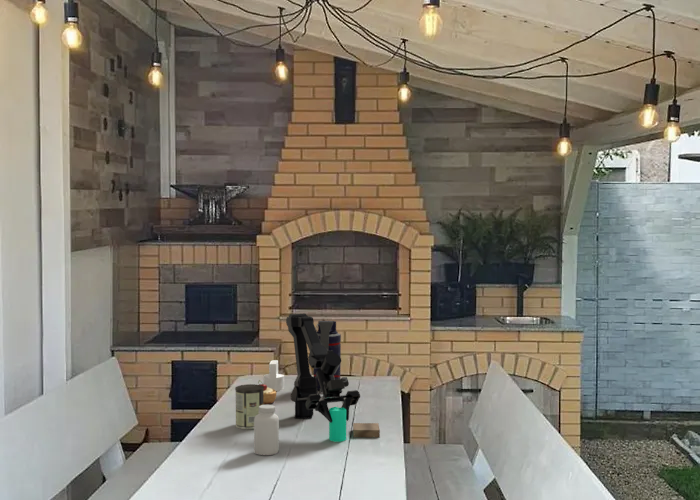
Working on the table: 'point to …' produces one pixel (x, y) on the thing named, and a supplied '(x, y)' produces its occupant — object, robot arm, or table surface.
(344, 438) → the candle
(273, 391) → the pastry
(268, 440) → the pill bottle
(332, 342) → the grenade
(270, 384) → the base with upright slab
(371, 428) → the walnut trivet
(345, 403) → the robot arm
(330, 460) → the table surface
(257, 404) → the coffee can
